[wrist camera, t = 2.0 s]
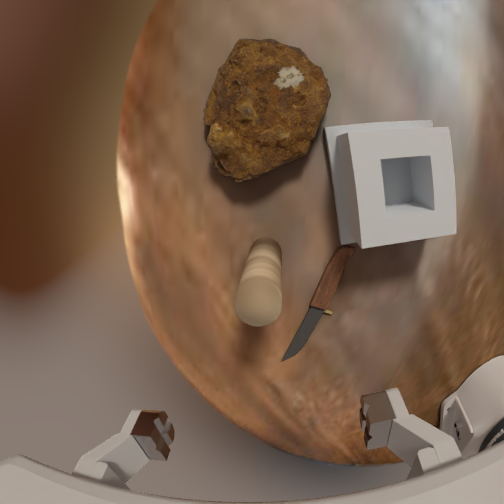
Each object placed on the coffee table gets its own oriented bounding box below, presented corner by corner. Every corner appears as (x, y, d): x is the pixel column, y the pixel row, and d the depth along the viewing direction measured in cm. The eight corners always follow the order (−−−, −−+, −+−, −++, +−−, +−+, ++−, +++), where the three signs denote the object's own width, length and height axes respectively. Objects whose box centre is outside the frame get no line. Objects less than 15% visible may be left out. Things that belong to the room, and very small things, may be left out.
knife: (303, 369, 36) (281, 363, 36) (302, 364, 37) (281, 359, 37) (362, 252, 31) (337, 242, 31) (359, 249, 32) (335, 240, 32)
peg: (283, 265, 33) (284, 323, 22) (252, 270, 34) (238, 328, 22) (278, 235, 32) (278, 281, 21) (246, 240, 33) (229, 287, 21)
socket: (437, 227, 30) (463, 242, 24) (339, 242, 32) (351, 261, 26) (427, 120, 27) (455, 116, 21) (323, 128, 28) (333, 122, 23)
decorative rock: (295, 198, 31) (334, 68, 27) (300, 203, 28) (344, 57, 23) (189, 168, 31) (230, 39, 26) (179, 169, 27) (226, 24, 23)
